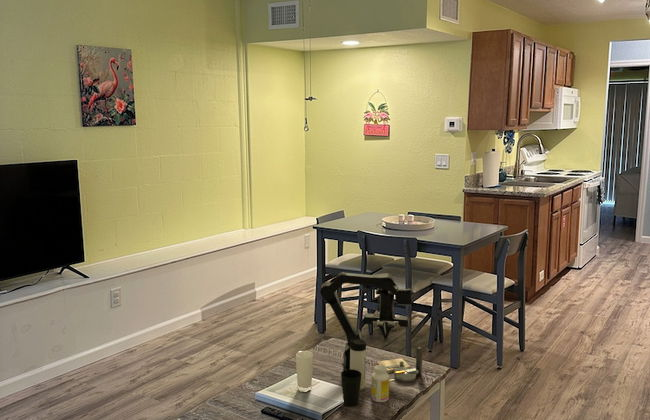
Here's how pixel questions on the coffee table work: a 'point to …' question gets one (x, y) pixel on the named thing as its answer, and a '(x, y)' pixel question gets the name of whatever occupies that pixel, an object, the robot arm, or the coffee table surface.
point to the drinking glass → (304, 368)
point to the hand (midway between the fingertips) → (385, 339)
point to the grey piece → (407, 373)
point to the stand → (393, 364)
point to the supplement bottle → (380, 384)
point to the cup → (351, 387)
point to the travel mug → (358, 359)
